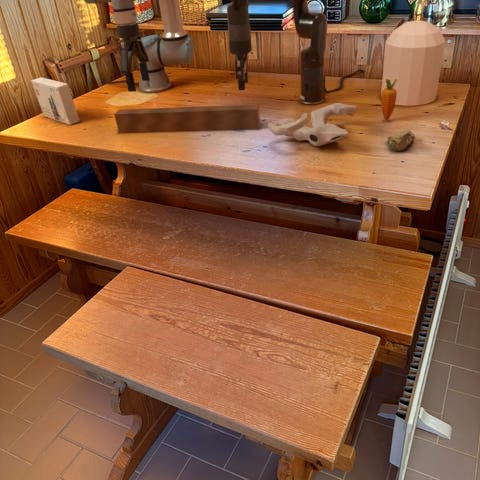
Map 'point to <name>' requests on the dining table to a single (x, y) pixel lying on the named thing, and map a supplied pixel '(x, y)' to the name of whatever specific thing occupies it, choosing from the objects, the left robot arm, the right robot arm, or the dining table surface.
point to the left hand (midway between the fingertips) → (139, 85)
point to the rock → (400, 140)
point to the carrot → (388, 99)
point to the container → (414, 62)
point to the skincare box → (55, 100)
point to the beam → (188, 119)
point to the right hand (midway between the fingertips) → (243, 86)
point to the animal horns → (314, 125)
